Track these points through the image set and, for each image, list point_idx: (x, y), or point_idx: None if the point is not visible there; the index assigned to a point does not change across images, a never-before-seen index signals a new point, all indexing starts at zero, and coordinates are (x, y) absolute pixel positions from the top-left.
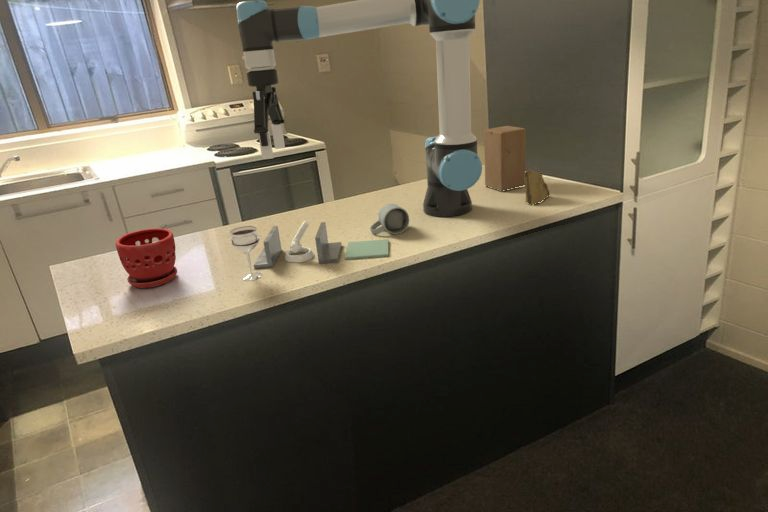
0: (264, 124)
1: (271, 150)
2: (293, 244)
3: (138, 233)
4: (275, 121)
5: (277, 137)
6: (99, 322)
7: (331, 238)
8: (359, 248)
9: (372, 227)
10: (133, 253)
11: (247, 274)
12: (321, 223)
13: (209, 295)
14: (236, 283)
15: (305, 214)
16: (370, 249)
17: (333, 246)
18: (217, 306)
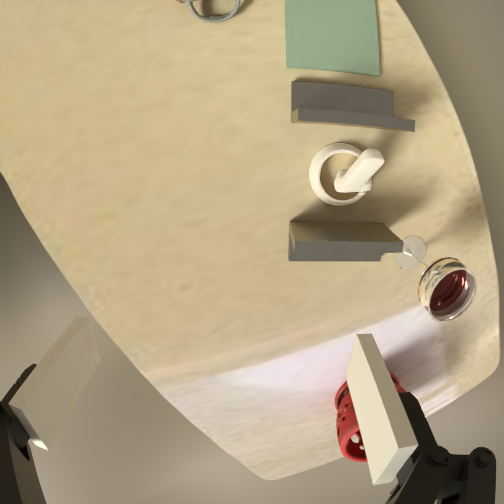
0: (490, 481)
1: (383, 361)
2: (370, 186)
3: (350, 453)
4: (17, 443)
5: (70, 381)
6: (454, 386)
7: (234, 111)
8: (333, 43)
9: (206, 18)
10: None
11: (408, 262)
12: (307, 118)
13: None
14: None
15: (58, 212)
16: (344, 23)
17: (318, 98)
18: (483, 277)
